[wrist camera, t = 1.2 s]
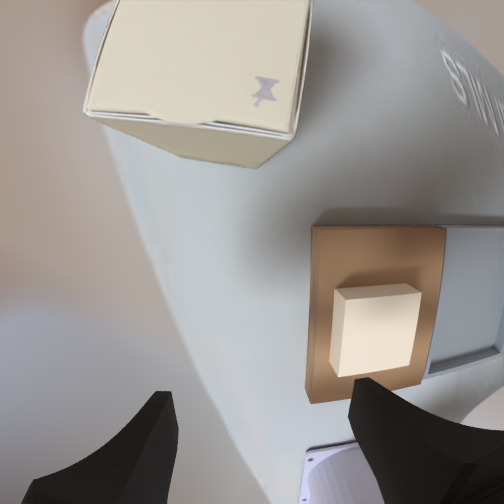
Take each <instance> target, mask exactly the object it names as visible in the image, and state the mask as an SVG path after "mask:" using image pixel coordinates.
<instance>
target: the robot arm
mask: <svg viewBox="0 0 504 504" xmlns="http://www.w3.org/2000/svg"><path fill="white" fill-rule="evenodd" d="M348 418H349V421H350V425H351V428H352V431H353V433H354V436H355V438H356V440H357V442H356V443H351V444H345V445H340V446H334V447H328V448H322V449H315V450H310V451H307V452H306V454H305V459H304V467H303V474H302V482H301V488H300V495H299V502H298V504H504V431H500V430H488V429H481V428H475V427H470V426H466V425H462V424H459V423H455V422H452V421H449V420H446V419H443V418H441V417H438V416H436V415H433V414H431V413H429V412H426V411H424V410H422V409H420V408H419V407H417V406H415V405H413V404H411V403H409V402H408V401H406V400H404V399H402V398H401V397H399V396H398V395H396V394H394V393H393V392H391V391H390V390H388V389H387V388H385V387H384V386H382V385H381V384H379V383H377V382H376V381H374V380H373V379H371V378H369V377H365V378H359V379H355V380H354V386H353V392H352V398H351V403H350V408H349V414H348ZM177 444H178V424H177V420H176V414H175V409H174V404H173V398H172V393H171V391H170V392H169V391H156V392H155V393H154V394H153V395H152V396H151V397H150V398H149V400H148V401H147V402H146V403H145V405H144V406H143V407H142V408H141V409H140V411H139V412H138V413H137V414H136V415H135V416H134V417H133V418H132V420H131V421H130V422H129V423H128V424H127V425H126V426H125V427H124V428H123V429H122V430H121V431H120V432H119V433H118V434H117V435H116V436H114V437H113V438H112V439H111V440H110V441H109V442H107V443H106V444H105V445H104V446H102V447H101V448H100V449H98V450H97V451H95V452H94V453H92V454H91V455H89V456H87V457H86V458H84V459H83V460H81V461H79V462H78V463H75V464H73V465H71V466H70V467H67V468H65V469H63V470H60V471H58V472H56V473H53V474H50V475H47V476H44V477H41V478H38V479H34V480H33V481H32V483H31V485H30V486H29V489H28V490H27V492H26V494H25V497H24V499H23V501H22V503H21V504H167V499H168V492H169V487H170V482H171V477H172V472H173V467H174V463H175V458H176V453H177Z"/></svg>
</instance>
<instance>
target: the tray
mask: <svg viewBox="0 0 504 504" xmlns="http://www.w3.org/2000/svg"><path fill="white" fill-rule="evenodd" d="M435 226H436V227H440V228H444V229H446V232H445V246H444V257H443V266H442V275H441V283H440V291H439V297H438V304H437V310H436V316H435V322H434V327H433V332H432V337H431V342H430V347H429V352H428V356H427V360H426V365H425V369H424V373H423V377H422V379H427V378H431V377H435V376H439V375H443V374H446V373H450V372H453V371H457V370H460V369H464V368H467V367H470V366H473V365H477V364H480V363H483V362H486V361H489V360H492V359H495V358H498V357H500V356H502V354H503V351H504V226H490V225H435Z"/></svg>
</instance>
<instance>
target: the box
mask: <svg viewBox="0 0 504 504" xmlns="http://www.w3.org/2000/svg"><path fill="white" fill-rule="evenodd" d="M312 9H313V0H117V2H116V4H115V6H114V9H113V11H112V13H111V16H110V18H109V20H108V23H107V27H106V29H105V32H104V34H103V37H102V40H101V42H100V45H99V48H98V51H97V55H96V58H95V61H94V65H93V68H92V72H91V76H90V80H89V83H88V87H87V92H86V96H85V100H84V105H83V113H84V114H85V115H86V116H87V117H89V118H91V119H93V120H95V121H98V122H100V123H102V124H104V125H107V126H109V127H111V128H113V129H116V130H118V131H121V132H123V133H125V134H128V135H130V136H133V137H135V138H137V139H140V140H142V141H144V142H146V143H149V144H151V145H153V146H156V147H158V148H160V149H163V150H165V151H167V152H169V153H172V154H174V155H176V156H178V157H181V158H186V159H192V160H198V161H204V162H211V163H218V164H224V165H231V166H238V167H244V168H251V169H257V168H258V167H260V166H261V165H262V164H263V163H265V162H266V161H267V160H268V159H269V158H271V157H272V156H273V155H274V154H276V153H277V152H278V151H279V150H281V149H282V148H283V147H285V146H286V145H287V144H289V143H290V142H291V141H293V139H294V137H295V134H296V130H297V126H298V119H299V112H300V105H301V99H302V93H303V87H304V80H305V73H306V66H307V59H308V52H309V43H310V34H311V23H312Z"/></svg>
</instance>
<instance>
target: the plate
mask: <svg viewBox="0 0 504 504" xmlns="http://www.w3.org/2000/svg"><path fill="white" fill-rule="evenodd" d="M445 232H446V229H444V228H440V227H436V226H432V225H328V226H311V276H310V307H309V329H308V348H307V365H306V380H305V390H306V393H307V395H308V398H309V401H310V403H311V404H315V403H323V402H330V401H337V400H344V399H350V398H352V392H353V386H354V380H355V379H359V378H365V377H369V378H371V379H373V380H374V381H376V382H377V383H379V384H381V385H382V386H384V387H385V388H387V389H388V390H390V391H393V390H397V389H402V388H406V387H411V386H415V385H419V384H421V380H422V377H423V373H424V369H425V365H426V360H427V356H428V352H429V347H430V342H431V337H432V332H433V327H434V322H435V316H436V310H437V304H438V297H439V291H440V283H441V275H442V266H443V257H444V246H445ZM402 283H406V284H408V285H410V286H411V287H413V288H415V289H416V290H418V291H420V292H421V293H422V294H421V301H420V308H419V315H418V321H417V327H416V333H415V338H414V344H413V349H412V354H411V358H410V363H409V365H408V366H403V367H398V368H393V369H387V370H382V371H376V372H370V373H364V374H357V375H351V376H344V377H338V376H337V374H336V373H335V371H334V369H333V367H332V365H331V364H330V362H329V357H330V346H331V334H332V321H333V306H334V289H336V288H351V287H364V286H377V285H390V284H402Z"/></svg>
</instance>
